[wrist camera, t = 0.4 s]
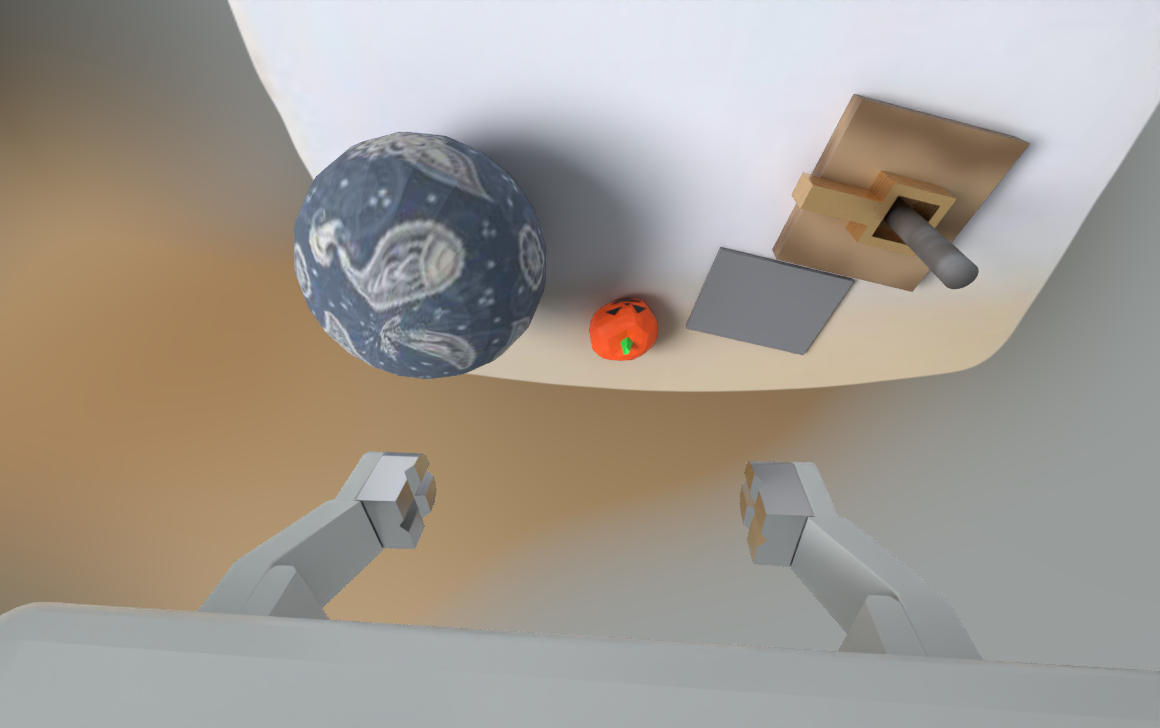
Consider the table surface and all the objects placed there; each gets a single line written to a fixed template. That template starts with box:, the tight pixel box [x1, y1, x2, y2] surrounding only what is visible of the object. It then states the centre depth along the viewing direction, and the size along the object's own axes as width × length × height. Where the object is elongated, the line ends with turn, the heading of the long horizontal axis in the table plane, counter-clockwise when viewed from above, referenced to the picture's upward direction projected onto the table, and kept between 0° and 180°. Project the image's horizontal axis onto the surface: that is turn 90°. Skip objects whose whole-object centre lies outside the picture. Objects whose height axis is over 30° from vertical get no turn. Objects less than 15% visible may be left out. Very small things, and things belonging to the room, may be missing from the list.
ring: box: [792, 171, 957, 256], centre depth 40 cm, size 5×11×3 cm, turn 78°
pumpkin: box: [589, 299, 658, 361], centre depth 52 cm, size 7×8×6 cm
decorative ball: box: [294, 132, 546, 379], centre depth 40 cm, size 20×20×20 cm
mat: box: [686, 247, 854, 355], centre depth 51 cm, size 10×14×1 cm
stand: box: [772, 94, 1029, 292], centre depth 37 cm, size 14×14×14 cm
